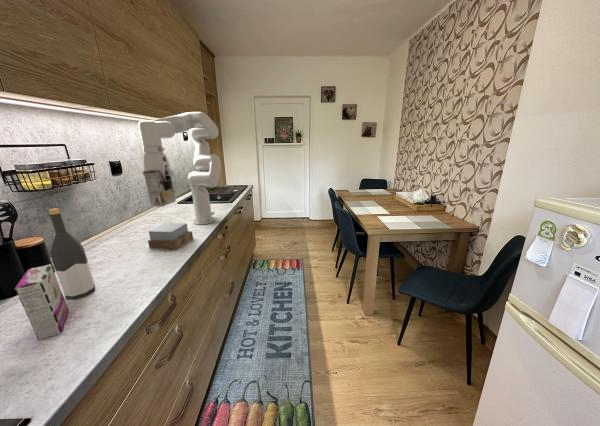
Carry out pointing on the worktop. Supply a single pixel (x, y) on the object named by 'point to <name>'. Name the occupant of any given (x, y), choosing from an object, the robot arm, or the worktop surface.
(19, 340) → the worktop surface
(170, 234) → the tower top slab
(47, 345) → the worktop surface
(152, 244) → the tower base slab
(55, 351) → the worktop surface
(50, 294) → the candy bar box
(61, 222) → the wine bottle
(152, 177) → the coffee box
